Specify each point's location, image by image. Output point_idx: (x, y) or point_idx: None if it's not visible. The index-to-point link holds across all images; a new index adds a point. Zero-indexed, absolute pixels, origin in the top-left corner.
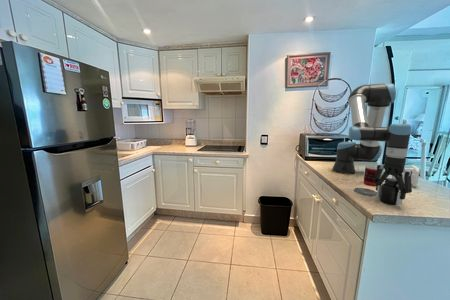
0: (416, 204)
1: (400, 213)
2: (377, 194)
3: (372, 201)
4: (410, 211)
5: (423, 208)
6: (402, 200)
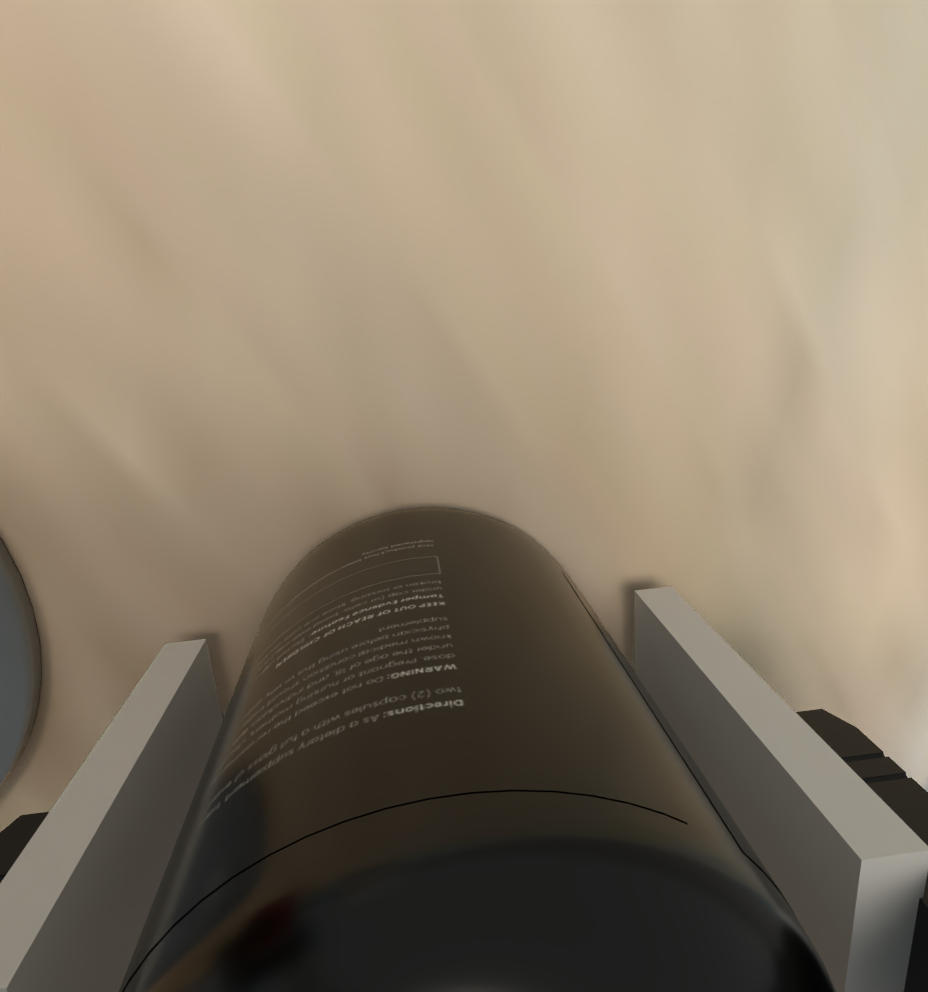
0: (690, 38)
1: None
2: None
3: None
4: (847, 612)
5: (884, 152)
6: (728, 644)
